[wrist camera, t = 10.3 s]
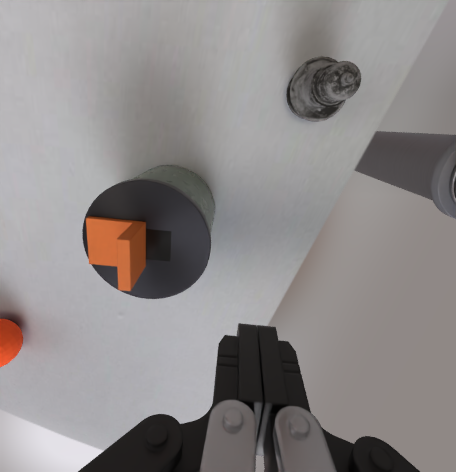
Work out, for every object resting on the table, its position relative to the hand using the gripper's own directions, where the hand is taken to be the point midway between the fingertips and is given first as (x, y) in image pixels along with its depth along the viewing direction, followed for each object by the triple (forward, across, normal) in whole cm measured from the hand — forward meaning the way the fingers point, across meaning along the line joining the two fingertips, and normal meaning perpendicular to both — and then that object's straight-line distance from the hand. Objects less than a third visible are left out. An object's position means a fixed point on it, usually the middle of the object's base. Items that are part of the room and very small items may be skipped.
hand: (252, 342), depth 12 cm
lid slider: (+15, +11, +3) cm, 19 cm away
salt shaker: (+27, -6, -12) cm, 30 cm away
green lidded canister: (+27, +9, +3) cm, 28 cm away
